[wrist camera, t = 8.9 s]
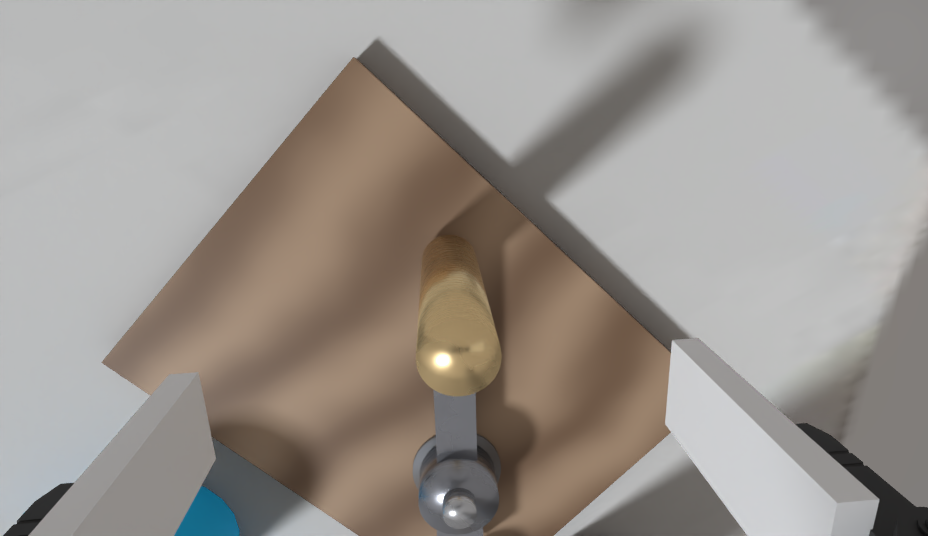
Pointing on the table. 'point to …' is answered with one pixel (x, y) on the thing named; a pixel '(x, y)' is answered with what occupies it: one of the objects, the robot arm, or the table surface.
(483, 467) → the lever
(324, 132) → the nutcracker base
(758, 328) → the table surface
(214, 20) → the table surface
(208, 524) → the mug
